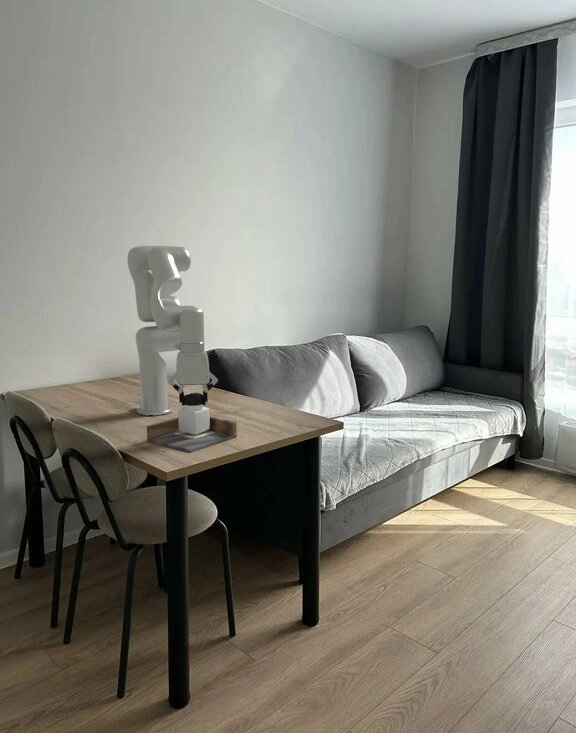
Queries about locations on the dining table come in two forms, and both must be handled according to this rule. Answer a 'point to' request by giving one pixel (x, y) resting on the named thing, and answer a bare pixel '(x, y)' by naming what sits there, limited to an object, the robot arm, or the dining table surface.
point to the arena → (173, 438)
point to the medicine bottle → (193, 415)
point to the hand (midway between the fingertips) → (193, 404)
